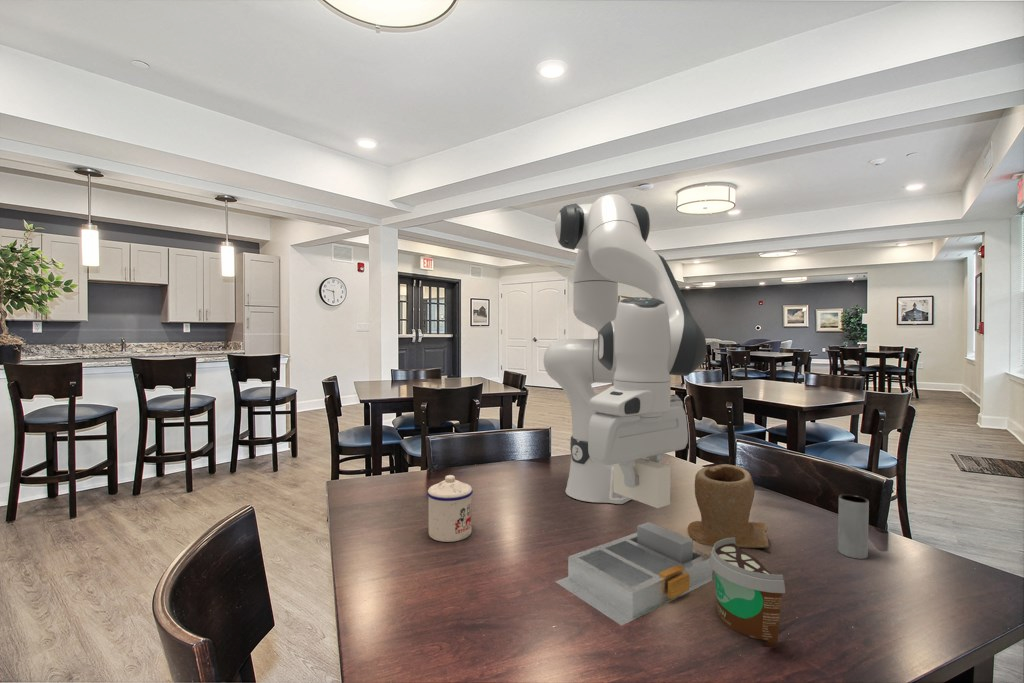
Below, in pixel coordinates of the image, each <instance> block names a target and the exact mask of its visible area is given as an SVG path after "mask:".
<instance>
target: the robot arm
mask: <svg viewBox="0 0 1024 683" xmlns="http://www.w3.org/2000/svg"><path fill="white" fill-rule="evenodd" d="M650 231H651V220H650V214H649V211H648V210H647V208H646V207H644V205H643V206H642V205H639V204H636V203H630V201H629V200H628V199H627V198H626V197H624V196H623V195H620V194H617V193H609V194H605V195H602V196H600V197H598V198H597V199H596V200H595V201H594V202H593V203H582V204H581V203H580V204H577V203H572V204H571V203H570V204H567V205H564V206H563V207H562V208H560V210H559V211H558V215H557V217H556V219H555V223H554V233H555V236H556V239H557V242H558V244H559V245H560V246H561V247H562V248H565V249H569V250H571V251H573V250H574V251H575V250H577V253H576V258H575V262H574V271H573V288H572V289H573V294H572V296H573V299H572V300H573V302H572V305H573V306H572V308H573V309H572V310H573V314H574V316H575V317H576V319H577V320H578V321H579V322H581V323H584V324H585V325H587V326H589V327H591V328H594V330H596V331H597V336H598V337H597V338H568V339H562V340H561V339H560V340H557V341H552V342H551V343H550V344H549V345H548V346H547V348H546V349H545V351H544V355H543V366H544V369H545V373H547V376H549V377H550V378H551V379H552V380H553V381H555V382H556V383H557V384H558V386H560V387H561V388H562V390H563V392H564V393H565V395H566V397H567V400H568V402H569V405H570V411H571V428H572V429H571V430H572V433H571V434H572V435H571V436H570V441H569V442H570V443H569V444H570V447H569V449H570V450H569V451H570V457H571V458H570V465H569V473H568V479H567V481H566V488H565V494H566V495H567V496H568V497H570V498H573V499H576V500H578V501H582V502H589V503H602V504H603V503H605V504H606V503H609V504H616V505H622V504H625V503H627V502H629V501H631V500H632V499H631V498H628V497H625V496H623V495H620V494H617V493H615V492H614V464H618V463H619V466H620V468H621V470H622V472H623V474H624V484H625V486H627V487H630V488H632V487H636V486H638V485H639V482H638V481H639V476H638V475H635V473H634V470H633V467H632V466H635V460H636V459H641V458H643V459H648V460H650V461H654V462H658V463H661V464H662V462H663V455H664V454H668V453H671V452H677V451H681V450H684V449H686V447H687V444H688V441H689V434H688V433H689V432H688V422H687V421H688V420H687V414H686V410H685V408H684V403H683V401H682V399H681V397H679V395H677V394H671V376H680V377H681V376H682V377H687V376H689V375H691V374H693V373H694V372H695V371H696V370H697V369H698V368H699V367H700V366H701V365H702V364H703V363H704V362H705V360H706V357H707V340H706V336H705V333H704V332H703V329H702V327H701V326H700V324H698V322H697V321H696V319H695V318H694V317H693V315H692V313H691V311H690V308H689V307H688V304H687V302H686V299H685V296H683V293H682V292H681V289H680V287H679V285H678V282H677V280H676V278H675V275H674V273H673V272H672V269H671V267H670V266H669V264H668V262H667V260H666V259H665V258H664V256H662V255H660V254H659V253H657V252H656V251H654V250H653V249H652V248H651V247H650V246H649V245H648V243H647V240H648V238H649V234H650ZM618 284H623V285H627V286H630V287H634V288H636V289H640V291H641V290H642V291H644V292H645V293H647V294H648V295H650V296H651V297H627V298H623V299H621V300H619V292H618V291H619V290H618V289H619V285H618ZM670 375H671V376H670ZM594 383H596V384H597V383H598V384H601V383H602V384H603V383H604V384H613V385H611V386H609V387H608V388H606V389H605V390H603V391H601V392H599V393H597V392H595V390H594V389H593V386H592V384H594Z"/></svg>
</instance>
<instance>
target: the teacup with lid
mask: <svg viewBox="0 0 1024 683" xmlns="http://www.w3.org/2000/svg"><path fill="white" fill-rule="evenodd" d="M426 493H427V494H426V495H427V497H428V536H429V537H430V538H431V539H433V540H435V541H437V542H443V543H444V542H445V543H446V542H447V543H451V542H459V541H462V540H465V539H466V538H468V537H469V536H471V534H472V494H473V493H474V492H473V488H472V486H471V485H470V484H468V483H466V482H461V481H460V480H457V479H456V477H455V476H454V475H452V474H449V475H445V477H444V480H442V481H440V482H439V483H436V484H433V485H431V486H430V487H429V488H428V490H427V492H426Z"/></svg>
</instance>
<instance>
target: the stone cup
mask: <svg viewBox="0 0 1024 683" xmlns="http://www.w3.org/2000/svg"><path fill="white" fill-rule="evenodd" d="M694 496H695V500H696V505H697V507H698V509H699V510H698V511H699V512H700V517H701V518H700V519H701V520H700V521H698V520H697V521H692V522H690V523H688V526H687V534H688V535H689V538H690V539H692V540H693V541H696V543H698V544H701V545H703V546H704V545H705V546H710V547H714V545H715V543H716V542H718V541H720V540H722V539H726V538H735V544H736V545H737V546H738V547H739V548H740V549H742V548H743V549H744V548H747V549H749V548H750V549H767V548H769V546H770V545H769V539H768V534H767V531H768V526H767V524H766V523H765V522H755V521H753V522H751V521H750V515H751V514H750V513H751V509H752V506H753V502H754V498H755V486H754V482H753V477H752V475H751V473H750V472H749V471H748V470H746V469H745V468H743V467H741V466H738V465H733V464H727V463H725V464H716V465H713V466H710V465H708V466H704V467H701V469H699V470H698V471H697V473H696V474H695V476H694Z"/></svg>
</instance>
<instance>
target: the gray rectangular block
mask: <svg viewBox="0 0 1024 683" xmlns="http://www.w3.org/2000/svg"><path fill="white" fill-rule="evenodd" d="M636 529H637V530H636V533H637V543H638V544H640V545H642V546H644V547H646V548H649V549H651V550H653V551H655V552H657V553H660V554H662V555H664V556H666V557H668V558H670V559H673V560H675V561H677V562H679V563H681V564H685V563H687V562H689V561H692V560H693V549H694V539H692V538H690V537H687V536H684V535H682V534H679V533H676V532H675V531H672V530H669V529H667V528H664V527H662V526H659V525H658V524H654V523H653V522H650V521H647V522H644V523H642V524H638V525H637V526H636Z"/></svg>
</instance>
